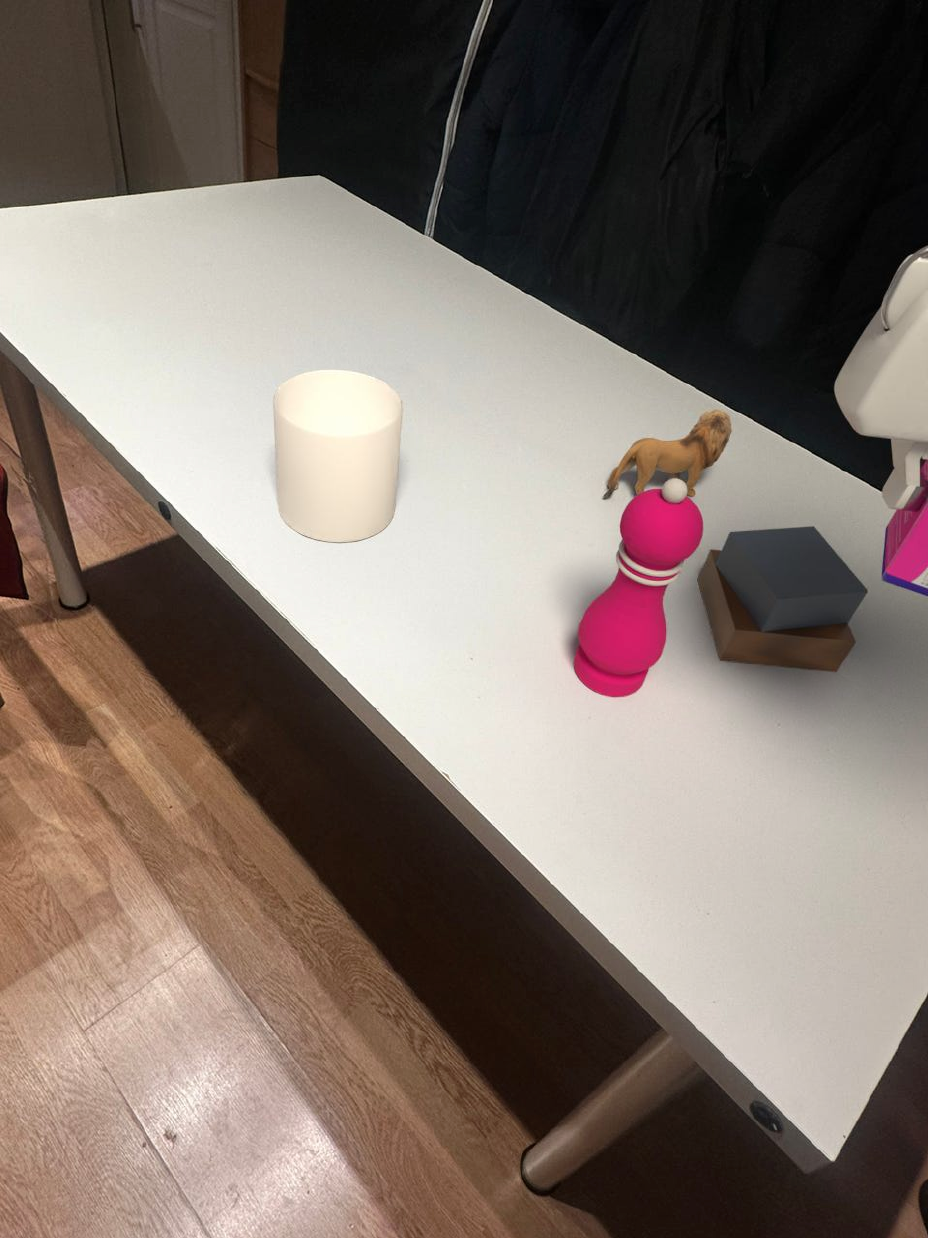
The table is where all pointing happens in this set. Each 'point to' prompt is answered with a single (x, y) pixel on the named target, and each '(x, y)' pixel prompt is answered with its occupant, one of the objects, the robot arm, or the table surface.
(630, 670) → the pepper mill
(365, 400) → the cup
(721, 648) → the base block
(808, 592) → the top block
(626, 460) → the lion figurine
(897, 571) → the supplement box
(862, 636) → the table surface
